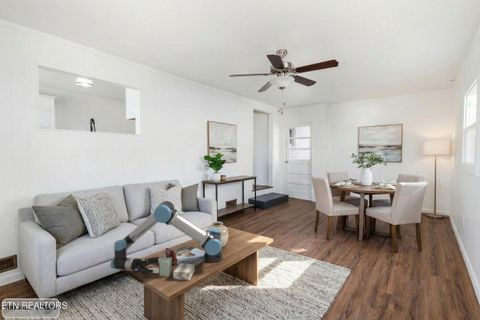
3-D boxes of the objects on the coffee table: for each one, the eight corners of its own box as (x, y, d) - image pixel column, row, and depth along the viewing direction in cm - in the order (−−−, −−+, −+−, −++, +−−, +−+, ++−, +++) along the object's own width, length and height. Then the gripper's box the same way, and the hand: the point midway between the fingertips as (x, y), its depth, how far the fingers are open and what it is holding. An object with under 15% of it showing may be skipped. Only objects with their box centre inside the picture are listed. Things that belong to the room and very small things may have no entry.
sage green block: (171, 272, 162) (171, 257, 162) (168, 276, 157) (168, 262, 156) (163, 271, 163) (163, 257, 163) (159, 276, 157) (159, 261, 157)
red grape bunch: (171, 267, 168) (171, 253, 168) (162, 262, 176) (161, 248, 176) (179, 264, 174) (179, 250, 173) (170, 259, 182) (169, 246, 181)
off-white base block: (194, 271, 163) (194, 264, 163) (189, 280, 152) (189, 272, 152) (179, 270, 164) (179, 263, 164) (173, 279, 154) (173, 271, 153)
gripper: (143, 260, 175) (170, 262, 172) (122, 279, 150) (154, 281, 147) (143, 251, 174) (170, 252, 172) (122, 267, 150) (153, 269, 147)
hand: (162, 265), depth 160 cm, fingers open, 13 cm apart
